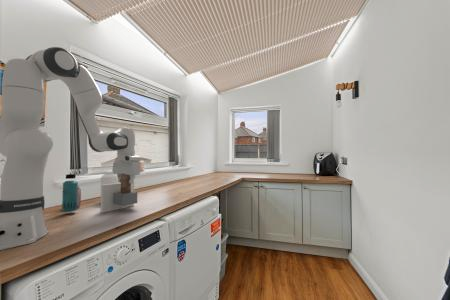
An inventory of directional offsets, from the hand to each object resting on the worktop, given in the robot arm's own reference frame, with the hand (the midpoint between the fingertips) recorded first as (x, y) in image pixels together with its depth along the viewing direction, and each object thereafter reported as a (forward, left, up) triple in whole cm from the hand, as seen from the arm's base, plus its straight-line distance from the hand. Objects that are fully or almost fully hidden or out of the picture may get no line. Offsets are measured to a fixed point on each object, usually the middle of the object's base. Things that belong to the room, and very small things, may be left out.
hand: (125, 183), depth 115 cm
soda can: (-13, +29, -15) cm, 35 cm away
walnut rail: (0, 0, -10) cm, 10 cm away
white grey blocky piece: (0, +2, -15) cm, 15 cm away
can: (+8, +27, -15) cm, 32 cm away
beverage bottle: (-19, +18, -15) cm, 30 cm away
